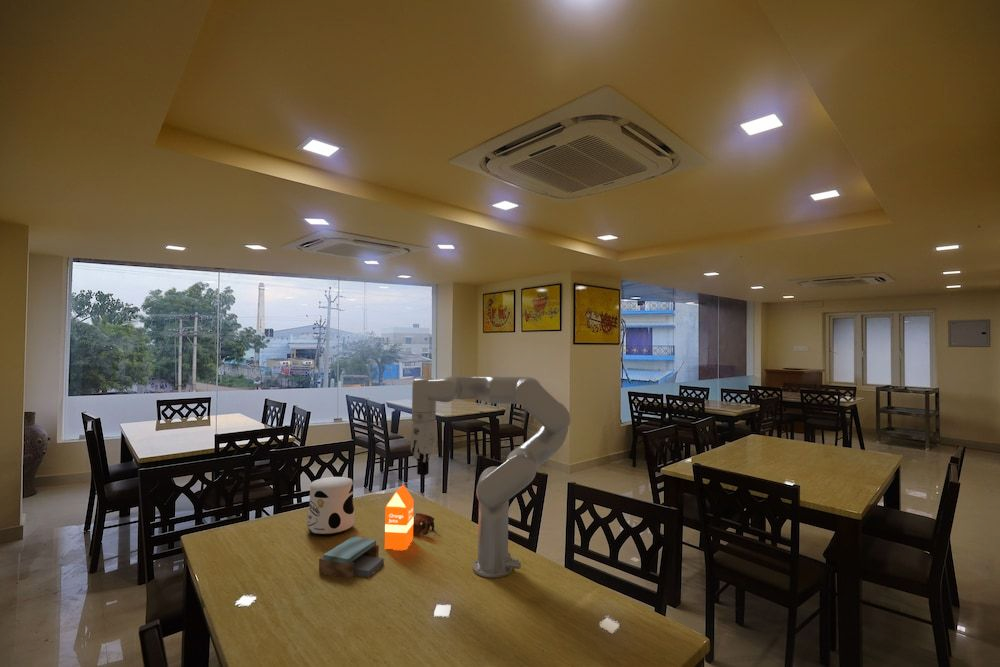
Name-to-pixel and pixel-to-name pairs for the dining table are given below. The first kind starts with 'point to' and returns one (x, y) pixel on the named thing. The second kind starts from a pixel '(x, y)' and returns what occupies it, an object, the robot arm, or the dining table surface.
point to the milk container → (331, 506)
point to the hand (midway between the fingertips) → (422, 474)
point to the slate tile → (367, 565)
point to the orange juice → (399, 520)
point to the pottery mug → (425, 526)
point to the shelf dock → (344, 567)
